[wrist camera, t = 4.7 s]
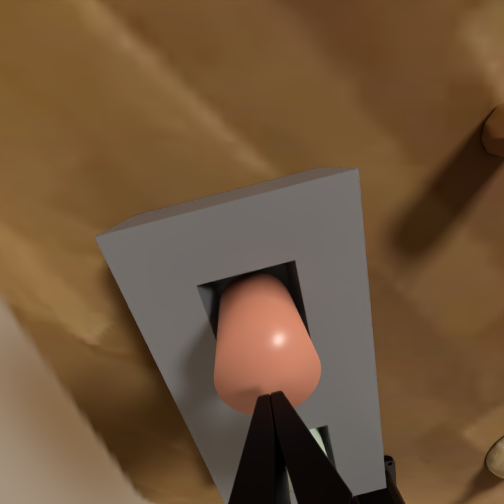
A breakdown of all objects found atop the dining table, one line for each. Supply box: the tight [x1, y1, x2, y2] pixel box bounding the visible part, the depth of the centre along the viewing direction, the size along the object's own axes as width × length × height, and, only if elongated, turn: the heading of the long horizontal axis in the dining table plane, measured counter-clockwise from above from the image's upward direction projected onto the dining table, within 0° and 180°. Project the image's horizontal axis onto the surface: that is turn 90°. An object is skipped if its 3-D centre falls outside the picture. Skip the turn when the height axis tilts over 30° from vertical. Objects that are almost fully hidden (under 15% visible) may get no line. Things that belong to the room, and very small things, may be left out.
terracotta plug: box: [214, 272, 321, 415], centre depth 11 cm, size 4×4×5 cm
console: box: [95, 167, 386, 504], centre depth 17 cm, size 24×12×5 cm, turn 14°
